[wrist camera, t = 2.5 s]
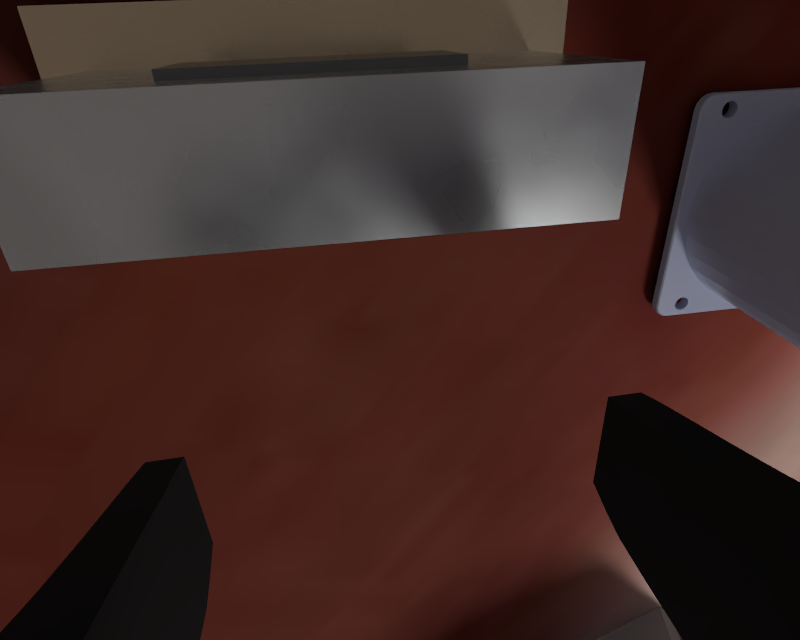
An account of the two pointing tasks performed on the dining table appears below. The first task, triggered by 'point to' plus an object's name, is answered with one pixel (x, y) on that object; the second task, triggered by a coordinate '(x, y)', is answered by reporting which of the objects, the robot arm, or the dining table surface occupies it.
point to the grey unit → (302, 126)
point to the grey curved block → (646, 628)
